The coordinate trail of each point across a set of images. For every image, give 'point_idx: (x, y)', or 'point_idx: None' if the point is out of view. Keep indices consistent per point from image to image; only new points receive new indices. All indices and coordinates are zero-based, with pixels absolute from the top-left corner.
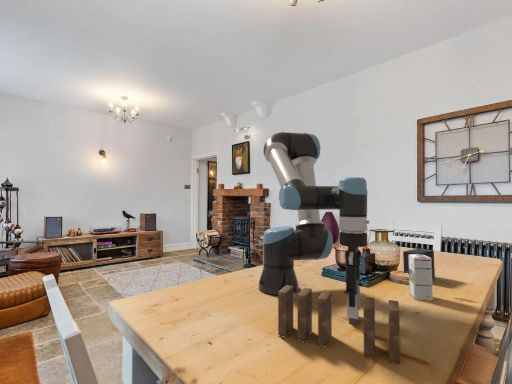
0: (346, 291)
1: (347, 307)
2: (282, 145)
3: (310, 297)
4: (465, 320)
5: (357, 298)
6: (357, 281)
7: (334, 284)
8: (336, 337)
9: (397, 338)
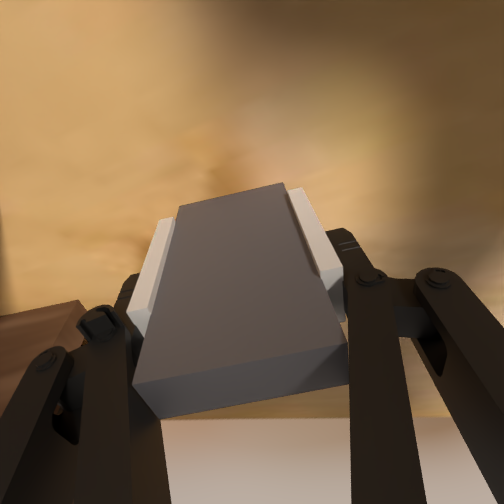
0: (28, 371)
1: (150, 251)
2: None
3: None
4: (418, 410)
5: None
6: (268, 393)
7: None
8: (8, 215)
9: None
